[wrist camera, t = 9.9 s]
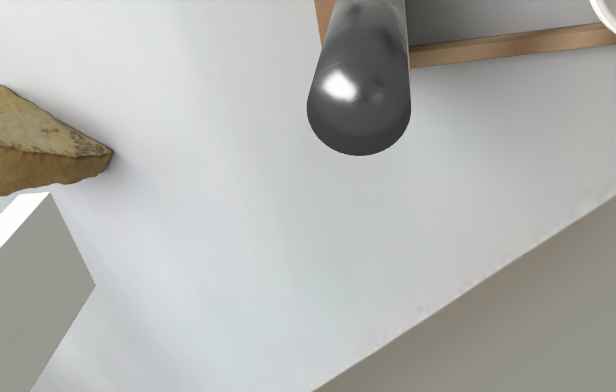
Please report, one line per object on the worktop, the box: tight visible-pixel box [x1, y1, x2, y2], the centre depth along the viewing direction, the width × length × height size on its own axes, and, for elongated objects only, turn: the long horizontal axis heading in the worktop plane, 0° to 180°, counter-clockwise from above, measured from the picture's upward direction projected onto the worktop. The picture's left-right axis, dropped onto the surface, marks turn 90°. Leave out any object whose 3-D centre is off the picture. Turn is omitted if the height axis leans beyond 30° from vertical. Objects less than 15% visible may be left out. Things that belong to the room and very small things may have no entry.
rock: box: [0, 86, 112, 196], centre depth 43 cm, size 11×9×10 cm
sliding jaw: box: [307, 0, 411, 156], centre depth 26 cm, size 3×10×22 cm, turn 10°
